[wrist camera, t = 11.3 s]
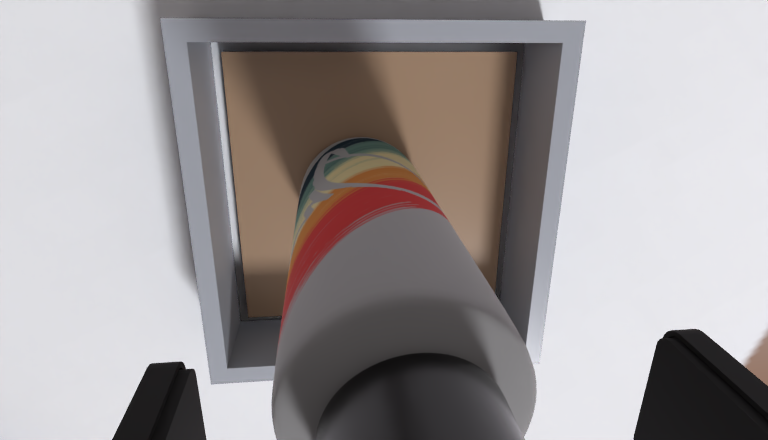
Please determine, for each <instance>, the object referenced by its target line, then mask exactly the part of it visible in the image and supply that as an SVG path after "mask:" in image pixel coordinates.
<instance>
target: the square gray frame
mask: <svg viewBox="0 0 768 440" xmlns="http://www.w3.org/2000/svg"><path fill="white" fill-rule="evenodd" d="M160 21H161V28H162V35H163V43H164V50H165V57H166V64H167V71H168V78H169V86H170V93H171V100H172V107H173V114H174V122H175V129H176V136H177V143H178V150H179V157H180V165H181V172H182V179H183V186H184V193H185V200H186V208H187V215H188V222H189V229H190V236H191V244H192V251H193V258H194V265H195V272H196V279H197V287H198V294H199V301H200V308H201V315H202V322H203V330H204V337H205V344H206V351H207V358H208V366H209V373H210V380H211V384H224V383H239V382H255V381H271V380H274V373H275V364H276V356H277V349H278V342H279V334H280V327H281V320H282V319H275V320H256V321H241V320H240V310H239V301H238V292H237V283H236V273H235V264H234V255H233V246H232V237H231V227H230V218H229V209H228V200H227V191H226V181H225V172H224V163H223V154H222V145H221V135H220V126H219V117H218V108H217V99H216V89H215V80H214V71H213V62H212V53H211V43H210V42H370V43H525V47H524V57H523V68H522V78H521V88H520V99H519V109H518V119H517V129H516V140H515V150H514V160H513V171H512V181H511V191H510V201H509V212H508V222H507V232H506V243H505V253H504V263H503V273H502V284H501V294H500V302H501V304H502V306H503V307H504V309H505V310H506V312H507V314H508V315H509V317H510V319H511V320H512V322H513V324H514V325H515V327H516V329H517V331H518V332H519V334H520V336H521V338H522V339H523V341H524V343H525V345H526V347H527V350H528V352H529V354H530V358H531V361H532V364H536V363H540V356H541V349H542V341H543V334H544V326H545V319H546V312H547V304H548V297H549V290H550V282H551V275H552V267H553V260H554V253H555V245H556V238H557V230H558V223H559V216H560V208H561V201H562V193H563V186H564V179H565V171H566V164H567V156H568V149H569V142H570V134H571V127H572V119H573V112H574V105H575V97H576V90H577V82H578V75H579V68H580V60H581V53H582V45H583V38H584V31H585V23H586V21H550V20H404V19H259V18H160ZM221 56H222V66H223V76H224V86H225V95H226V105H227V115H228V125H229V134H230V144H231V154H232V164H233V174H234V183H235V193H236V203H237V213H238V222H239V232H240V242H241V252H242V262H243V271H244V281H245V291H246V301H247V310H248V318H250V317H270V316H282V313H283V306H284V299H285V292H286V285H287V278H288V271H289V264H290V257H291V250H292V243H293V236H294V229H295V222H296V215H297V208H298V201H299V195H300V190H301V185H302V182H303V178H304V176H305V173H306V171H307V169H308V167H309V166H310V164H311V163H312V161H313V160H314V159H315V158H316V156H317V155H318V154H319V153H321V152H322V151H323V150H324V149H326V148H327V147H329V146H330V145H332V144H334V143H336V142H338V141H341V140H344V139H348V138H354V137H368V138H374V139H378V140H381V141H384V142H386V143H388V144H390V145H392V146H394V147H395V148H396V149H398V150H399V151H400V152H401V153H402V154H404V155H405V156H406V158H407V159H408V160H409V161H410V162H411V164H412V165H413V166H414V168H415V169H416V171H417V172H418V174H419V175H420V177H421V178H422V180H423V181H424V183H425V185H426V186H427V188H428V189H429V191H430V192H431V194H432V196H433V197H434V199H435V200H436V202H437V203H438V205H439V207H440V208H441V210H442V211H443V213H444V214H445V216H446V217H447V219H448V221H449V222H450V224H451V225H452V227H453V228H454V230H455V232H456V233H457V235H458V236H459V238H460V239H461V241H462V243H463V244H464V246H465V247H466V249H467V250H468V252H469V254H470V255H471V257H472V258H473V260H474V261H475V263H476V265H477V266H478V268H479V269H480V271H481V272H482V274H483V276H484V277H485V279H486V280H487V282H488V283H489V285H490V287H491V288H492V290H493V291H494V293H495V287H496V277H497V266H498V255H499V244H500V234H501V223H502V212H503V201H504V191H505V180H506V169H507V158H508V147H509V137H510V126H511V115H512V104H513V94H514V83H515V72H516V61H517V52H280V51H223V52H221Z"/></svg>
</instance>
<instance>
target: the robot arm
mask: <svg viewBox="0 0 768 440" xmlns="http://www.w3.org/2000/svg"><path fill="white" fill-rule="evenodd" d="M112 440H206V435H205V429H204V422H203V416H202V410H201V404H200V397H199V391H198V385H197V379H196V373H195V370H194V369H186V368H185V365H184V363H183V362H168V363H152V364H150V365H149V366H148V368H147V369H146V371H145V373H144V376H143V378H142V380H141V382H140V384H139V386H138V388H137V390H136V392H135V394H134V396H133V398H132V400H131V402H130V404H129V406H128V408H127V411H126V413H125V415H124V417H123V419H122V421H121V423H120V425H119V427H118V429H117V431H116V433H115V435H114V437H113V439H112ZM634 440H768V386H767V385H766V384H764V383H763V382H762V381H761V380H760V379H758V378H757V377H756V376H755V375H754V374H753V373H751V372H750V371H749V370H748V369H747V368H745V367H744V366H743V365H742V364H741V363H739V362H738V361H737V360H736V359H735V358H733V357H732V356H731V355H730V354H729V353H727V352H726V351H725V350H724V349H723V348H721V347H720V346H719V345H718V344H717V343H715V342H714V341H713V340H712V339H711V338H710V337H708V336H707V335H706V334H705V333H703V332H702V331H700V330H697V329H687V330H671V331H668V332H666V334H665V335H664V337H663V338H662V339H660V340H659V341H658V342H657V345H656V349H655V353H654V357H653V361H652V365H651V369H650V373H649V377H648V381H647V385H646V389H645V393H644V397H643V401H642V405H641V409H640V413H639V417H638V421H637V426H636V430H635V434H634Z"/></svg>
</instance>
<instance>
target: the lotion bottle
mask: <svg viewBox="0 0 768 440" xmlns="http://www.w3.org/2000/svg"><path fill="white" fill-rule="evenodd" d="M535 403H536V377H535V371H534V368H533V364H532V361H531V358H530V354H529V352H528V350H527V347H526V345H525V343H524V341H523V339H522V338H521V336H520V334H519V332H518V331H517V329H516V327H515V325H514V324H513V322H512V320H511V319H510V317H509V315H508V314H507V312H506V310H505V309H504V307H503V306H502V304H501V302H500V301H499V299H498V298H497V296H496V294H495V293H494V291H493V290H492V288H491V287H490V285H489V283H488V282H487V280H486V279H485V277H484V276H483V274H482V272H481V271H480V269H479V268H478V266H477V265H476V263H475V261H474V260H473V258H472V257H471V255H470V254H469V252H468V250H467V249H466V247H465V246H464V244H463V243H462V241H461V239H460V238H459V236H458V235H457V233H456V232H455V230H454V228H453V227H452V225H451V224H450V222H449V221H448V219H447V217H446V216H445V214H444V213H443V211H442V210H441V208H440V207H439V205H438V203H437V202H436V200H435V199H434V197H433V196H432V194H431V192H430V191H429V189H428V188H427V186H426V185H425V183H424V181H423V180H422V178H421V177H420V175H419V174H418V172H417V171H416V169H415V168H414V166H413V165H412V164H411V162H410V161H409V160H408V159H407V158H406V156H405V155H404V154H402V153H401V152H400V151H399V150H398V149H396V148H395V147H394V146H392V145H390V144H388V143H386V142H384V141H381V140H378V139H374V138H368V137H354V138H348V139H344V140H341V141H338V142H336V143H334V144H332V145H330V146H329V147H327V148H326V149H324V150H323V151H322V152H321V153H319V154H318V155H317V156H316V158H315V159H314V160H313V161H312V163H311V164H310V166H309V167H308V169H307V171H306V173H305V176H304V178H303V182H302V185H301V190H300V195H299V201H298V208H297V215H296V222H295V229H294V236H293V243H292V250H291V257H290V264H289V271H288V278H287V285H286V292H285V299H284V306H283V313H282V320H281V327H280V334H279V342H278V349H277V356H276V364H275V373H274V381H273V392H272V418H273V425H274V432H275V435H276V439H277V440H525V439H524V436H525V434H526V431H527V429H528V427H529V424H530V422H531V419H532V416H533V412H534V408H535Z"/></svg>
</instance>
